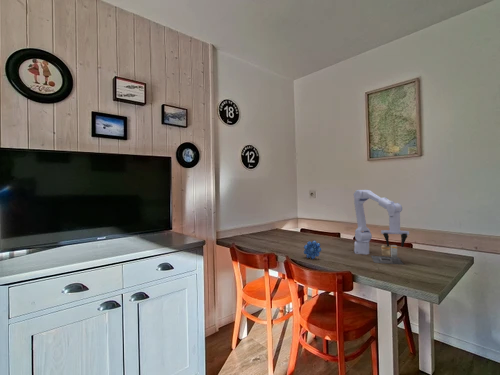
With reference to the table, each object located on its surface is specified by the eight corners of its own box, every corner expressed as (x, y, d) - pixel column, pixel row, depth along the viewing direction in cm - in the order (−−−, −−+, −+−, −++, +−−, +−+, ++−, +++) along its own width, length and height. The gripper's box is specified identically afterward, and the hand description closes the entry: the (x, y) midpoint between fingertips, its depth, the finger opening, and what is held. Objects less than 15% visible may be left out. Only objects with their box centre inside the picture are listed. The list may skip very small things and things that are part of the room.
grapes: (323, 258, 172) (322, 239, 171) (320, 260, 166) (320, 241, 165) (305, 256, 177) (305, 238, 177) (302, 258, 171) (302, 240, 171)
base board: (374, 264, 157) (374, 260, 157) (370, 257, 172) (370, 254, 172) (404, 266, 152) (404, 263, 152) (398, 259, 167) (398, 255, 167)
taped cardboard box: (382, 255, 158) (382, 246, 158) (381, 253, 162) (381, 245, 162) (389, 255, 157) (389, 247, 157) (388, 253, 161) (388, 245, 161)
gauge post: (391, 258, 164) (391, 246, 164) (390, 257, 167) (390, 244, 167) (397, 259, 163) (397, 246, 163) (396, 257, 166) (396, 245, 166)
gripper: (382, 224, 155) (382, 247, 155) (410, 224, 150) (410, 248, 150) (380, 222, 162) (380, 244, 162) (407, 223, 157) (407, 245, 157)
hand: (395, 246), depth 157 cm, fingers open, 7 cm apart
